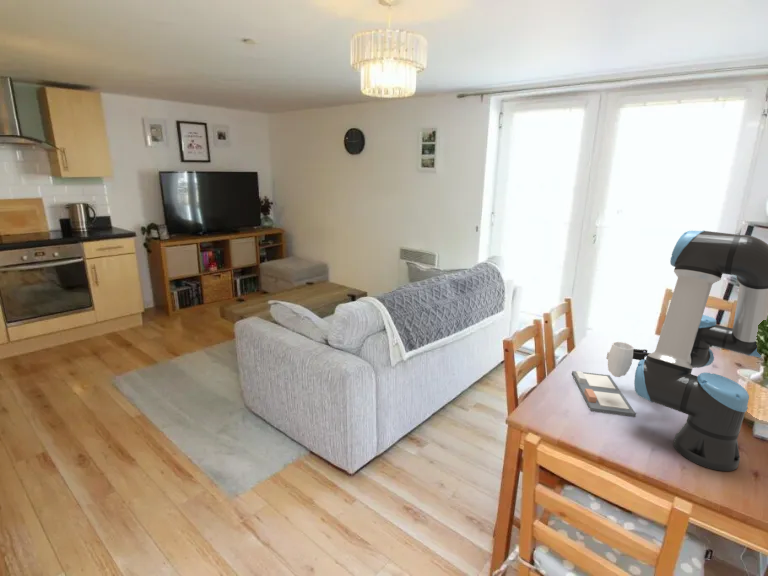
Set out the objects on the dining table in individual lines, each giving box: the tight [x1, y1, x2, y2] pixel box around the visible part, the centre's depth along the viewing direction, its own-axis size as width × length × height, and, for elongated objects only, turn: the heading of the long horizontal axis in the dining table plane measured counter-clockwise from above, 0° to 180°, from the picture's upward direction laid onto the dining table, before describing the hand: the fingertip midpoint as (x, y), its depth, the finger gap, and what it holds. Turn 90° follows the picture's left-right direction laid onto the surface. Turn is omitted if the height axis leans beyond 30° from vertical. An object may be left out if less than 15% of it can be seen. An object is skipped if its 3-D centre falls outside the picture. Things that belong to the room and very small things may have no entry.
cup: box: [607, 341, 635, 378], centre depth 141 cm, size 7×7×21 cm
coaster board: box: [571, 370, 637, 418], centre depth 151 cm, size 28×14×3 cm, turn 168°
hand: (622, 364), depth 142 cm, fingers open, 13 cm apart
